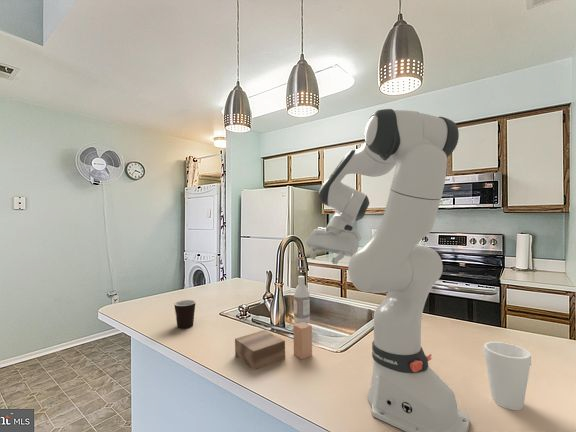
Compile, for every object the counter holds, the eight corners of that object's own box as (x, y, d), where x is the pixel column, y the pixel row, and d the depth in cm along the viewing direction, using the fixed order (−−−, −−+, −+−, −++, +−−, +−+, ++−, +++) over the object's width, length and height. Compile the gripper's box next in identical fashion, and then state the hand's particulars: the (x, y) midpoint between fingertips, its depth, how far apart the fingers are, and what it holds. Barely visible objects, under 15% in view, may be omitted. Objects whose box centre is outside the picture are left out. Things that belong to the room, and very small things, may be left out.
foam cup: (507, 389, 79) (506, 340, 79) (541, 411, 70) (541, 356, 70) (475, 392, 78) (474, 343, 78) (506, 416, 69) (506, 360, 69)
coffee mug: (191, 330, 123) (191, 305, 123) (171, 330, 123) (170, 306, 123) (200, 320, 135) (200, 298, 135) (181, 320, 135) (181, 298, 135)
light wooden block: (312, 355, 100) (311, 325, 100) (302, 359, 97) (301, 328, 97) (303, 350, 103) (303, 321, 103) (293, 354, 101) (293, 324, 101)
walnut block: (285, 358, 98) (284, 340, 98) (253, 370, 91) (253, 351, 91) (265, 346, 108) (264, 329, 108) (235, 356, 100) (235, 338, 100)
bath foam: (291, 319, 134) (291, 275, 134) (306, 318, 136) (305, 274, 136) (297, 325, 127) (296, 278, 127) (312, 323, 129) (311, 277, 129)
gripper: (312, 222, 118) (296, 250, 112) (359, 228, 104) (344, 261, 98) (318, 231, 121) (303, 259, 115) (365, 238, 108) (350, 271, 102)
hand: (322, 260), depth 107 cm, fingers open, 8 cm apart
